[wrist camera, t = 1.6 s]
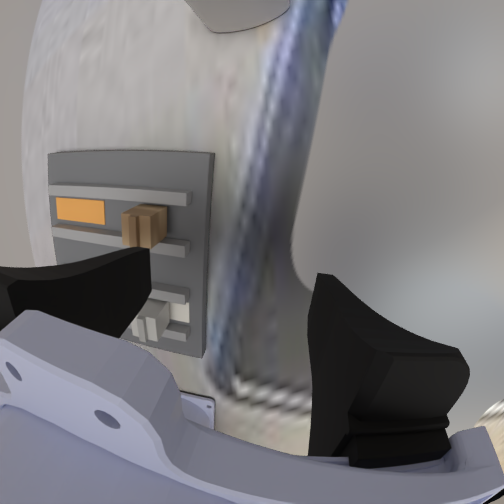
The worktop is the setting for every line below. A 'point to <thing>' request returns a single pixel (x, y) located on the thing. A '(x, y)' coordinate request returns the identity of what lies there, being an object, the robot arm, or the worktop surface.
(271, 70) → the worktop surface
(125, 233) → the oak tab
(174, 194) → the switch board
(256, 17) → the eye dropper bottle
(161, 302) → the grooved grey cube
